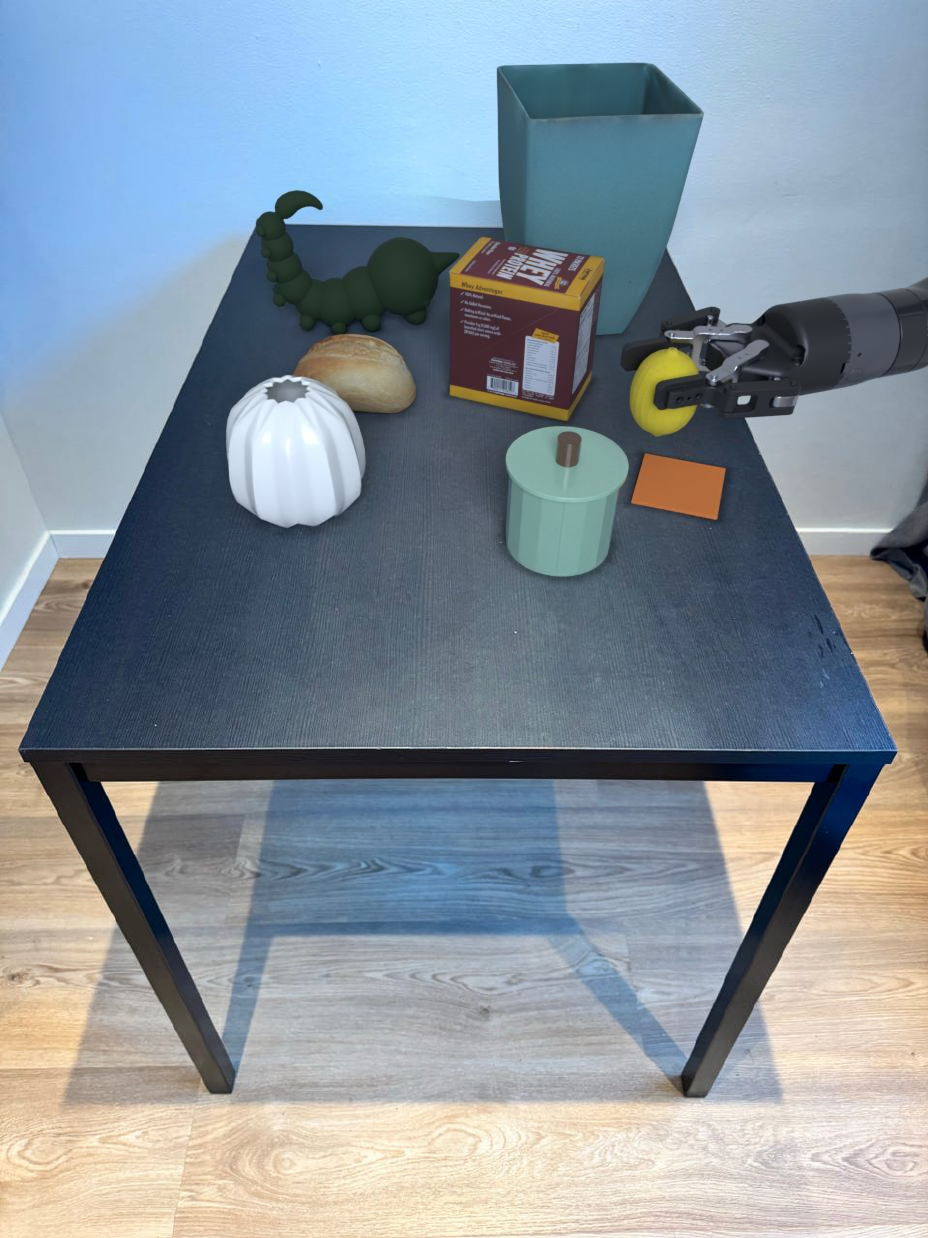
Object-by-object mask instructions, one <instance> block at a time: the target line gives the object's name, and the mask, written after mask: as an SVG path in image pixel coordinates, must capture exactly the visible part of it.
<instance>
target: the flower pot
mask: <svg viewBox="0 0 928 1238" xmlns="http://www.w3.org/2000/svg"><path fill="white" fill-rule="evenodd" d="M496 97H497V98H496V100H497V101H496V102H497V162H498V163H497V164H498V167H497V168H498V171H497V172H498V173H497V174H498V192H499V204H500V214H501V223H502V230H503V236H504V241H507V242H513V243H519V244H524V245H530V246H535V247H541V248H547V249H553V250H559V251H565V252H571V253H577V254H583V255H590V256H597V257H601V258H604V259H605V263H604V272H603V280H602V288H601V296H600V305H599V313H598V322H597V330H596V336H610V335H621V334H623V333H624V332H625V331H626V329H627V328H628V326H629V324H630V323H631V321H632V319H633V318H634V316H635V315H636V313H637V312H638V310H639V308H640V306H641V304H642V303H643V301H644V300H645V297H646V295H647V293H648V291H649V289H650V287H651V285H652V282H653V280H654V278H655V276H656V274H657V272H658V270H659V267H660V264H661V262H662V261H663V257H664V255H665V252H666V250H667V247H668V244H669V241H670V238H671V236H672V232H673V230H674V229H673V228H674V225H675V222H676V218H677V215H678V210H679V208H680V202H681V200H682V196H683V192H684V189H685V185H686V181H687V178H688V174H689V170H690V166H691V162H692V160H693V156H694V153H695V148H696V145H697V142H698V138H699V134H700V131H701V127H702V123H703V119H704V115H705V112H704V110H703V109H702V108H701V107H700V106H699V105H697V103H696V102H695V101H693V100H692V99H691V97H689V95H687V94H686V93H685V92H684V91H683V90H682V89H681V88H680V87H679V86H677V84H675V82H674V81H672V79H670V78H669V77H668V76H667V74H665V73H664V72H663V71H662V69H660V68H659V67H658V66H657V65H655V64H654V63H651V62H601V63H600V62H595V63H591V62H590V63H549V64H504V65H499V66H497V67H496Z"/></svg>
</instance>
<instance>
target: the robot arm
mask: <svg viewBox="0 0 928 1238" xmlns="http://www.w3.org/2000/svg"><path fill="white" fill-rule="evenodd" d="M720 315H721V309H720V308H719V307H717V306H707V307H703V308H700V309H697V310H693V311H690V312H689V311H688V312H686V313H683V314H679V315H676V316H672V317H669V318H665V319H662V321H661V322H660V323H661V324H660V330H659V335H658V337H653V338H647V339H643V340H641V339H640V340H635V341H630V342H628V343H625V344H624V345H623V347H622V350H621V354H620V355H621V356H620V363H619V364H620V367H621V368H622V369H623V370H624V371H625V372H633V371H637V369H638V368H639V366H640V364H641V363H642V362H643V361H644V359H646V358H647V357H648V356H649V355H651V354H652V353H654V352H657V351H659V350H663V349H669V348H671V347H674V348H676V349H677V350H681V349H684V348H687V347H689V350H688V351H687V352H684V353H685V354H686V355H688V356H689V357H690V358H691V359H692V360H693V362H694V363H695V364H696V366H697V369H698V372H707V373H706V375H705V376H703V375H702V374H701V373H699V374H696V375H690V376H685V377H679V378H673V379H668V380H662V381H660V382H659V383H658V384H657V385H656V388H655V394H654V399H653V404H654V405H655V406H656V407H657V409H658V410H665V409H677V408H680V407H681V408H683V407H685V406H686V407H688V406H693V405H697V406H698V405H700V406H701V407H702V408H705V409H712V408H716V409H717V410H718V413H717V414H718V416H719V417H720V418H721V419H725V420H732V419H733V420H734V419H750V418H764V417H765V418H766V417H779V416H790V415H792V414H794V412H795V407H796V406H797V402H798V401H799V397H801V396H807V395H812V394H817V393H822V392H823V393H824V392H828V391H832V390H838V389H844V388H849V387H853V386H857V385H860V384H862V383H865V382H868V381H871V380H875V379H881V378H887V377H891V376H897V375H902V374H907V373H911V372H915V371H919V370H923V369H925V368H927V367H928V276H926V277H924V278H923V279H920V280H918V281H916V282H914V283H912V284H910V285H908V286H905V287H899V288H892V289H886V290H880V291H873V292H865V293H858V292H857V293H842V294H836V295H835V294H834V295H829V296H823V297H817V298H810V299H804V300H799V301H797V300H796V301H791V302H786V303H780V304H775V305H773V306H771V307H769V308H768V309H766V310H765V311H764V312H763V313H761V315H760V316H759V317H758V318H757V319H756V320H755V321H753V322H751V323H749V322H748V323H745V322H744V323H741V322H730V323H728V324H727V323H726V322H724V321H723V320H721V319H720ZM703 345H707V346H706V350H705V355H704V358H701V355H702V350H703ZM741 397H749V400H748V402H746V403H740V404H738V401H739V398H741Z"/></svg>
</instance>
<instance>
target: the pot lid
mask: <svg viewBox="0 0 928 1238" xmlns="http://www.w3.org/2000/svg"><path fill="white" fill-rule="evenodd" d="M509 445H510V446H509V447H508V449H507V450H506V454H505V461H504V462H505V468H506V472H507V474H508V477H509V476H510V477H511V479H512V480H513V481H514V482H515V483H516V484H517V485H518V486H519V487H521V488H522V489H523V490H525V491H527V492H529V493H530V494H533V495H535V496H537V497H540V498H543V499H547V500H551V501H556V502H564V503H581V502H589V501H594V500H598V499H601V498H604V497H606V496H608V495H610V494H612V493H614V492H615V491H616V490H618V489H619V488H620V489H621V487H622V486H623V485H624V483H626V480H627V478H628V475H629V469H630V466H629V460H628V457H627V455H626V453H625V451H624V450H623V448H621V447H620V446H619V444H617V443H616V442H615V441H614V440H612V439H611V438H609V437H607V436H605V435H603V434H601V433H599V432H596V431H593V430H590V429H587V428H583V427H576V426H566V425H561V426H559V425H556V426H546V427H540V428H537V429H533V430H531V431H528V432H526V433H523V434H522V435H521V436H519V437H518V438H516V439H515V440H514V441H513V442H511V444H509Z"/></svg>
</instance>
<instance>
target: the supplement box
mask: <svg viewBox="0 0 928 1238" xmlns="http://www.w3.org/2000/svg"><path fill="white" fill-rule="evenodd" d="M604 263H605V259H604V258H601V257H597V256H590V255H583V254H577V253H571V252H565V251H559V250H553V249H547V248H541V247H535V246H530V245H524V244H519V243H513V242H507V241H505V240H502V239H497V238H496V239H495V238H491V237H485V236H480V238H478V240H476V242H475V243H474V244H473V245H472V246H471V247H470V248H469V249H468V250H467V251H466V253H465V254H463V256H462V257H461V258H460V259H459V260H458V261H457V262H456V263H455V264H454V265H453V266H452V267H451V268H450V270H449V271H448V273H449V396H450V397H456V398H460V399H465V400H469V401H474V402H479V403H483V404H487V405H492V406H494V407H495V406H496V407H501V408H505V409H509V410H514V411H519V412H523V413H527V414H531V415H537V416H540V417H546V418H549V419H555V420H558V421H563V422H568V421H569V420H570V418H571V416H572V414H573V412H574V411H575V409H576V407H577V405H578V403H579V402H580V401H581V399H582V396H583V395H584V393H585V391H586V389H587V388H588V385H589V383H590V382H591V380H592V374H593V363H594V362H593V361H594V354H595V346H596V336H597V335H596V330H597V322H598V313H599V305H600V296H601V288H602V280H603V272H604Z"/></svg>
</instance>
